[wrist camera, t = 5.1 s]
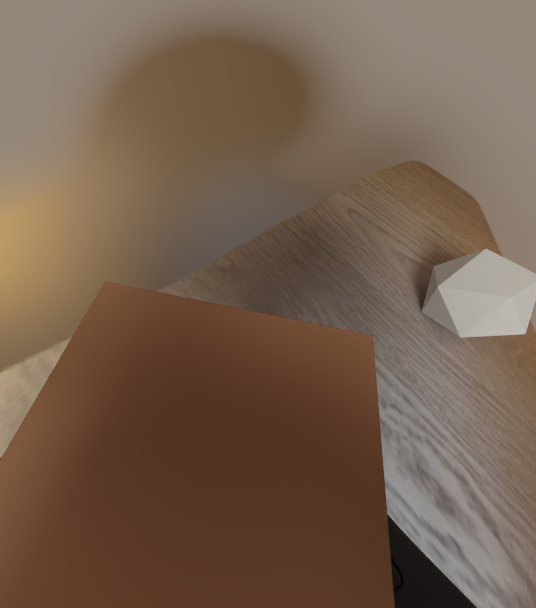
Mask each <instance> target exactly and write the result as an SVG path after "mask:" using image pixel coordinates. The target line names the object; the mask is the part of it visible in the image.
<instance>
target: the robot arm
mask: <svg viewBox="0 0 536 608" xmlns="http://www.w3.org/2000/svg"><path fill="white" fill-rule="evenodd" d="M0 460H1V458H0ZM387 519H388V531H389V543H390V556H391V568H392V580H393V593H394V605H395V608H477V607H476V606H475V605H474V604H473V603H472V602H471V601H470V600H469V599H468V598H467V597H466V596H465V595H464V594H463V593H462V592H461V591H460V590H459V589H458V588H457V587H456V586H455V585H454V584H453V583H452V582H451V581H450V580H449V579H448V578H447V577H446V576H445V575H444V574H443V573H442V572H441V571H440V570H439V569H438V568H437V566H436V565H435V564H434V563H433V562H432V561H431V560H430V559H429V558H428V557H427V556H426V555H425V554H424V553H423V552H422V551H421V550H420V549H419V548H418V547H417V546H416V545H415V544H414V543H413V542H412V541H411V540H410V538H409V537H408V536H407V535H406V534H405V533H404V532H403V531H402V530H401V529H400V528H399V527H398V525H397V524H396V523H395V522H394V521H393V520H392V519H391V518H390V516H389V515H388V514H387Z"/></svg>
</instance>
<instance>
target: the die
mask: <svg viewBox="0 0 536 608" xmlns="http://www.w3.org/2000/svg"><path fill="white" fill-rule="evenodd" d="M535 301H536V274H535V273H533V272H531V271H529V270H527V269H525V268H523V267H521V266H519V265H517V264H515V263H513V262H511V261H509V260H507V259H505V258H503V257H501V256H499V255H497V254H495V253H493V252H491V251H489V250H487V249H484V250H481V251H478V252H475V253H472V254H469V255H466V256H463V257H460V258H457V259H454V260H451V261H448V262H445V263H442V264H439V265H436V266H434V267H433V271H432V274H431V278H430V282H429V285H428V289H427V293H426V297H425V300H424V304H423V308H422V311H421V312H422V313H423V314H425V315H426V316H428V317H429V318H431V319H433V320H434V321H436V322H437V323H439V324H440V325H442V326H443V327H445V328H447V329H448V330H450V331H451V332H453V333H454V334H456V335H457V336H459V337H460V338H462V337H480V336H499V335H517V334H525V333H526V330H527V327H528V324H529V320H530V317H531V314H532V310H533V307H534V304H535Z"/></svg>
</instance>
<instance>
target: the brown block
mask: <svg viewBox="0 0 536 608" xmlns="http://www.w3.org/2000/svg"><path fill="white" fill-rule="evenodd" d="M0 608H395V605H394V593H393V580H392V568H391V556H390V543H389V531H388V519H387V507H386V494H385V482H384V470H383V458H382V445H381V433H380V421H379V409H378V396H377V384H376V372H375V359H374V347H373V335H368V334H363V333H358V332H353V331H348V330H343V329H338V328H333V327H328V326H323V325H318V324H313V323H308V322H304V321H299V320H294V319H289V318H284V317H279V316H274V315H269V314H264V313H259V312H254V311H249V310H244V309H239V308H234V307H229V306H224V305H219V304H214V303H209V302H204V301H199V300H195V299H190V298H185V297H180V296H175V295H170V294H165V293H160V292H155V291H150V290H145V289H139V288H135V287H130V286H125V285H120V284H115V283H110V282H104V284H103V286H102V287H101V289H100V291H99V293H98V294H97V296H96V298H95V299H94V301H93V303H92V304H91V306H90V308H89V310H88V311H87V313H86V315H85V316H84V318H83V320H82V321H81V323H80V325H79V327H78V328H77V330H76V332H75V333H74V335H73V337H72V338H71V340H70V342H69V344H68V345H67V347H66V349H65V350H64V352H63V354H62V356H61V357H60V359H59V361H58V362H57V364H56V366H55V367H54V369H53V371H52V373H51V374H50V376H49V378H48V379H47V381H46V383H45V385H44V386H43V388H42V390H41V391H40V393H39V395H38V396H37V398H36V400H35V402H34V403H33V405H32V407H31V408H30V410H29V412H28V414H27V415H26V417H25V419H24V420H23V422H22V424H21V425H20V427H19V429H18V431H17V432H16V434H15V436H14V437H13V439H12V441H11V442H10V444H9V446H8V448H7V449H6V451H5V453H4V454H3V456H2V458H1V460H0Z"/></svg>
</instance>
